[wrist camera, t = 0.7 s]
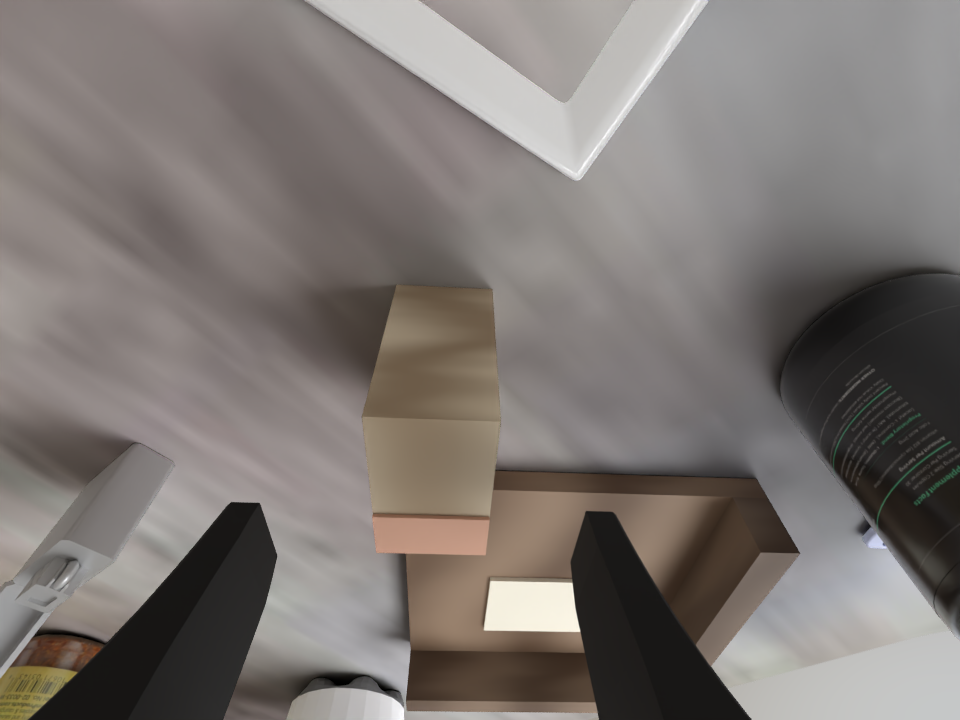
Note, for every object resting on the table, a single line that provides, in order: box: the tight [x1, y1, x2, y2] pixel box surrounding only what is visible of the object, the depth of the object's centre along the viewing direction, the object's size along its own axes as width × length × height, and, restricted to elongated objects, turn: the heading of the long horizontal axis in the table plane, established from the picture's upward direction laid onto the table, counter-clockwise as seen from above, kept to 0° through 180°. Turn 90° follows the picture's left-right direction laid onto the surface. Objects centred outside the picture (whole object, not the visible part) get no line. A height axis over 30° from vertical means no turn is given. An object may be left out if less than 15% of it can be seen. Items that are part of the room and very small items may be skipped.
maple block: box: [362, 285, 501, 555], centre depth 14 cm, size 3×5×6 cm, turn 177°
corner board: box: [406, 471, 800, 713], centre depth 24 cm, size 15×16×4 cm
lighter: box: [0, 443, 175, 678], centre depth 18 cm, size 7×2×8 cm, turn 129°
